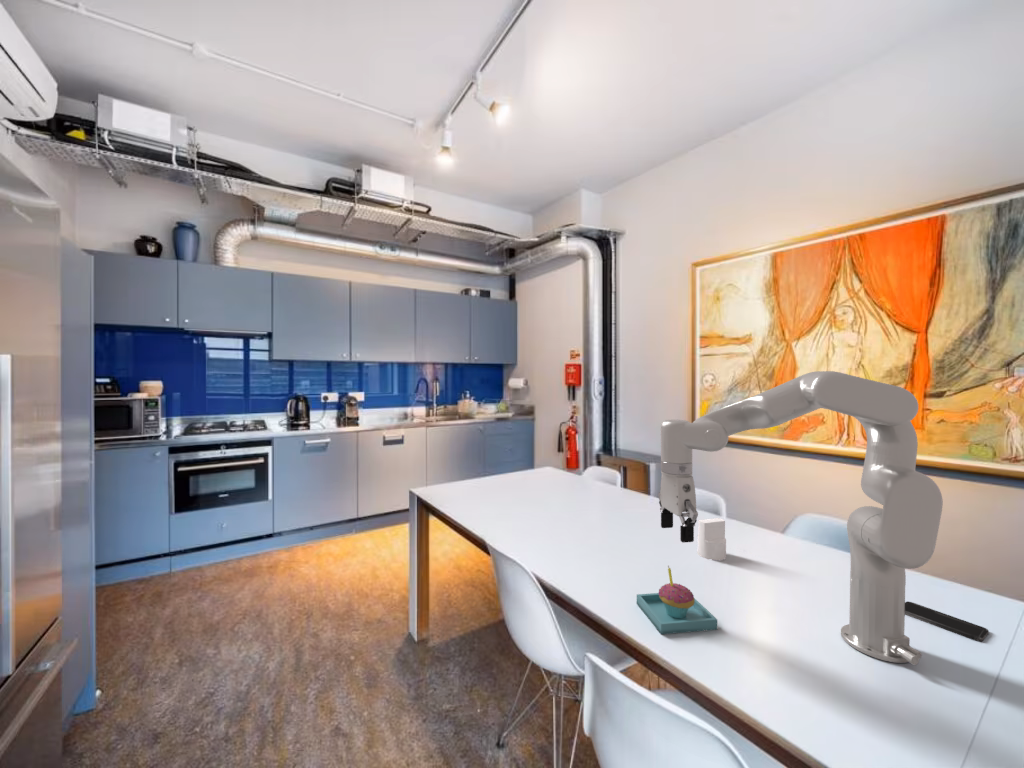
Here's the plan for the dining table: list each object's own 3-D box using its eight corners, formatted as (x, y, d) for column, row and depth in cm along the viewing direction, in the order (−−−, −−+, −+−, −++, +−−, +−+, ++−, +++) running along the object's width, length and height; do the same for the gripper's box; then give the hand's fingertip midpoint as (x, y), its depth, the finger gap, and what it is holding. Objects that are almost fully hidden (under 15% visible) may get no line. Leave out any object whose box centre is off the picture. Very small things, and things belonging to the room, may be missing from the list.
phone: (981, 639, 97) (896, 608, 110) (981, 644, 97) (896, 612, 110) (989, 629, 101) (907, 600, 114) (989, 633, 101) (907, 604, 114)
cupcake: (656, 617, 105) (656, 570, 105) (661, 600, 113) (661, 557, 113) (692, 626, 101) (693, 578, 101) (695, 609, 109) (696, 564, 108)
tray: (717, 629, 101) (717, 619, 101) (661, 634, 100) (661, 624, 99) (686, 599, 115) (686, 590, 115) (636, 603, 113) (636, 594, 113)
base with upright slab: (709, 561, 139) (710, 526, 138) (691, 550, 147) (691, 517, 147) (732, 558, 141) (732, 523, 141) (712, 548, 150) (713, 515, 150)
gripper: (710, 475, 98) (710, 547, 99) (672, 460, 116) (672, 522, 116) (680, 476, 97) (681, 549, 98) (647, 461, 115) (647, 523, 115)
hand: (676, 534), depth 107 cm, fingers open, 9 cm apart
